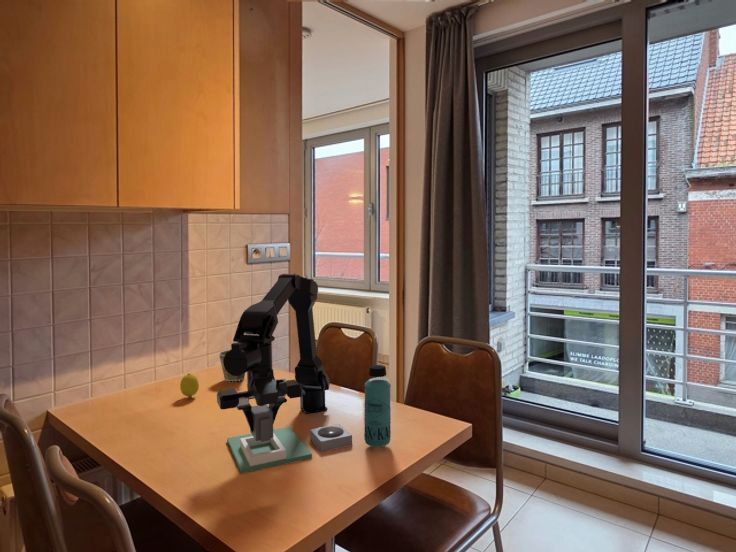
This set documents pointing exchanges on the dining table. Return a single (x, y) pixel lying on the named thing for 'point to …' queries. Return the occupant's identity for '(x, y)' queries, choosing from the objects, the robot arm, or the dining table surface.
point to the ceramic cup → (226, 375)
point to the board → (268, 450)
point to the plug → (262, 423)
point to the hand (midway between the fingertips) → (261, 429)
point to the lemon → (189, 385)
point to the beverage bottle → (377, 408)
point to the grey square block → (330, 437)
